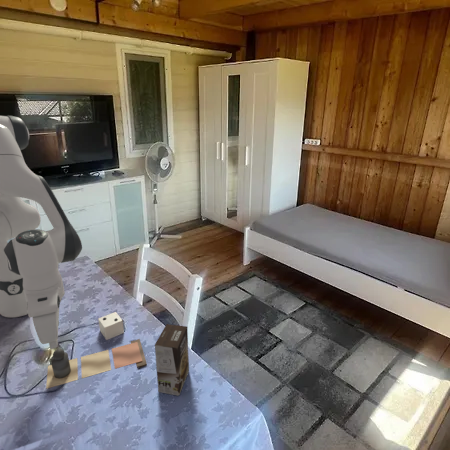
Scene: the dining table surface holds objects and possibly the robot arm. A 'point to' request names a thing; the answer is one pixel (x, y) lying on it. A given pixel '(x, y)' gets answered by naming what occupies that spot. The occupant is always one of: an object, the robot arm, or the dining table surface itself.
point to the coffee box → (172, 359)
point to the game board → (100, 363)
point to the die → (111, 325)
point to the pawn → (60, 364)
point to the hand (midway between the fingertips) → (55, 335)
